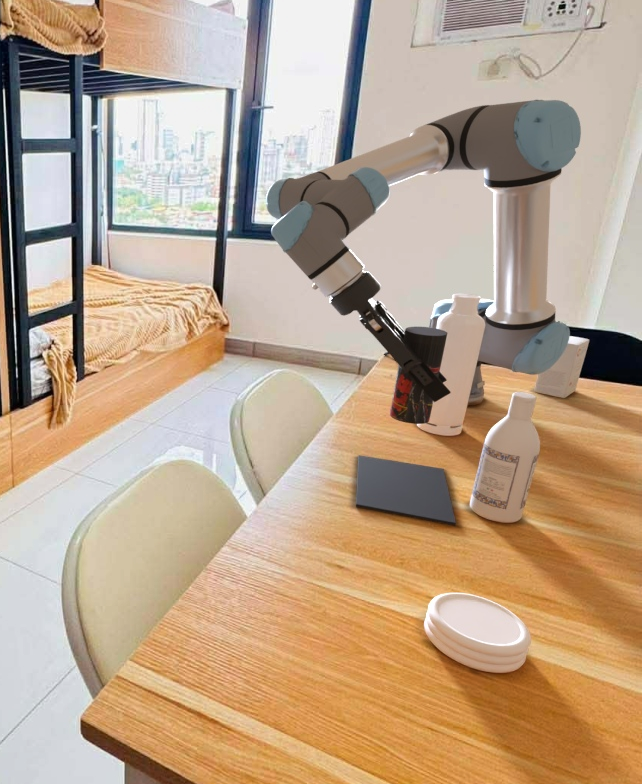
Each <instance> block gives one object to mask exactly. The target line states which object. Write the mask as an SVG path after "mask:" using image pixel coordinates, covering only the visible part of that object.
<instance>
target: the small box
mask: <svg viewBox="0 0 642 784" xmlns="http://www.w3.org/2000/svg"><path fill="white" fill-rule="evenodd" d="M589 343H590V339H588V338H584V337H579V336H572V335H570V337H569V341H568V344H567V346H566V349H565V351H564V352H563V354H562V355H561V357H560V358H559V359H558V361H557V362H556V363H555V364H554V365H553V366H552V367H551V368H549V369H548V370H546V371H545V372H543V373H540V374H537V378H536V381H535V386H534V389H533V392H534V393H539V394H543V395H547V396H550V397H551V396H552V397H556V398H561V399H565V398H567V397H568V396H570V395H571V394H573V393H574V392H576V390H577V387H578V384H579V379H580V375H581V372H582V368H583V365H584V362H585V358H586V354H587V350H588V347H589Z"/></svg>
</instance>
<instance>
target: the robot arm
mask: <svg viewBox="0 0 642 784" xmlns="http://www.w3.org/2000/svg"><path fill="white" fill-rule="evenodd" d="M581 135H582V128H581V121H580V118H579V115H578V113H577V111H576V110H575V109H574V108H573V107H572V106H570V104H569V103H568V102H566V101H564V100H559V99H557V100H556V99H548V100H547V99H546V100H544V99H533V100H524V101H516V102H507V103H498V104H483V105H477V106H474V107H470V108H466V109H462V110H460V111H457V112H454V113H451V114H449V115H446V116H444V117H441V118H439V119H436V120H433V121H430V122H429V123H426V124H423V125H421V126H418V127H417V128H415V129H414V130H413V131H412V132H411V133H410V134H409V135H408V136H407V137H404V138H402V139H398V140H396V141H394V142H391V143H389V144H386V145H383V146H381V147H378V148H376V149H372V150H370V151H368V152H364V153H362V154H359V155H357V156H355V157H352V158H349V159H347V160H344V161H341V162H339V163H336V164H333V165H330V166H328V167H326V168H323V169H320V170H317V171H315V172H312V173H308V174H306V175H304V176H301V177H297V178H294V177H288V178H282V179H278V180H276V181H275V182H274V183H273V184H271V186H270V187H269V189H268V191H267V192H266V193H267V194H266V197H265V204H266V209H267V212H268V213H269V215H270V216H271V217H273V218H275V219H278V220H277V221H276V222H275V223H274V224H273V225H272V227H271V230H270V233H271V234H270V235H271V236H272V237H273V239H274V240H275V242H276V243H277V244H278V245H279V247H280V248H281V249H282V251H283V253H286V255H287V256H288V257H289V258H290V259H291V260H292V261H293V262H294V263H295V265H296V266H297V267H298V268H299V269H300V270H301V272H303V273H304V275H305V276H306V277H307V278H308V279H309V280H310V281H311V282H312V283H313V284H312V285H311V288H312V290H314V291H316V290H317V289H319V292H320V293H321V294H322V295H323V296H324V297H325V298H328V297H330V298H329V303H330V305H332V307H333V308H334V309H335V310H336V311H337V312H338V314H339V315H341V316H348V315H350V314H352V313H353V312H355V311H356V312H357V314H358V315H359V322H360V323H361V324H362V326H363V327H364V328H365V330H367V331H369V333H370V334H371V335H372V336H373V337H374V338H375V339H376V340H377V342H379V344H380V345H381V346H382V347H383V348H384V350H386V352H384V353H383V354H382V355H383V356H388V355H390V357H392V359H393V360H394V361H395V362H396V363H397V364H398V366H399V365H400V367H401V369H402V370H403V371H401V373H402V374H403V375H404V374H405V373H407V372H408V373H409V374H410V375H411V376H412V378H413V379H414V380H415V381H416V382H417V383H418V384H419V385H420V387H421V388H422V389H423V390H424V391H425V392H426V393H427V395H428V396H429V397H430V398H431V399H432V400H433V401H434V402H436V401H438V400H440V399H441V398H443V397H445V396H446V395H448V394H450V393H451V392H450V391H449V389H448V388H447V387H446V386H445V385H444V384H443V382H445V381H447V380H446V378H445V377H444V376H443V375H442V374H441V373H440V372H439V376H438V377H437V376H436V375H435V374H434V373H433V371H432V370H431V369H430V368H429V367H428V366H427V365H426V363H425V362H424V361H421V359H420V358H418V357H417V355H416V354H415V353H414V352H413V351H412V349H411V348H410V347H409V346H408V344H407V343H406V342H405V341H404V334H405V329H404V328H403V327H402V326H401V325H400V323H398V321H397V320H396V319H395V317H394V316H393V315H392V314H391V313H390V312H389V311H388V309H387V307H386V305H385V304H384V303H383V302H382V301H379V300H376V301H375V300H374V297H375V296H376V295H377V294H378V293H379V292H380V290H381V289H382V284H381V283H380V282H379V281H378V280H377V279H376V277H375V276H373V274H372V273H371V272H370V271H367V270H365V271H364V269H365V264H364V263H363V262H362V261H361V260H360V259H359V258H358V257H357V256H356V254H355V253H354V252H353V251H352V250H351V249H350V248H349V247H348V246H347V245H346V244H345V242H344V241H343V240H345V239H346V238H347V237H348V236H349V235H350V234H351V233H353V232H354V231H356V229H358V228H359V227H360V226H361V225H362V224H364V223H365V222H367V220H369V219H370V218H371V217H372V216H375V214H376V212H378V210H379V209H380V208H382V206H384V205H385V204H386V203H387V201H388V200H389V198H390V194H391V190H390V189H391V188H390V186H393V185H395V184H396V185H397V184H398V183H401V182H403V181H405V180H408V179H411V178H413V177H416V176H418V175H421V176H432V175H434V174H437V173H440V172H445V171H446V172H447V171H460V170H461V171H483V180H484V182H483V184H484V187H486V188H487V189H489V190H490V191H491V192H493V265H494V266H493V271H494V272H493V299H494V300H493V299H489V298H481V300H480V302H479V304H478V306H477V311H478V315H479V316H481V317H482V318H483V319H484V321H485V329H484V334H483V338H482V343H481V347H480V351H479V356H478V360H477V365H476V369H475V373H474V378H473V382H472V387H471V391H470V395H469V400H468V404H467V407H468V406H475V405H478V404H479V405H480V404H481V403H482V402H483V400H484V396H485V388H484V386H485V385H486V383H485V380H483V375H482V368H481V367H482V363H485V364H489V365H492V366H496V367H499V368H504V369H506V370H510V371H512V372H513V373H521V374H525V375H530V376H537V375H538V374H540V373H543V372H545V371H546V370H548V369H549V368H551V367H552V366H553V365H554V364H555V363H556V362H557V361H558V359H559V358H560V357H561V355H562V354H563V352H564V351H565V349H566V346H567V344H568V341H569V337H570V336H571V331H570V327H569V325H567V324H566V323H565V322H563V321H560V320H558V321H556V306H555V305H554V303H552V302H551V301H549V300H548V299H547V291H548V266H549V265H548V263H549V239H550V237H549V234H550V207H551V184H552V183H553V182H554V181H556V180H557V179H558V178H559V177H560V176H561V175H562V172H563V171H562V170H563V168H565V167H566V166H568V164H570V163H571V161H572V160H573V159H574V157H575V155H576V154H577V152H576V149H577V148H579V145H580V142H581V138H582V137H581ZM452 304H453V298H449V299H442V300H439V301H437V302H436V303H435V304H434V306H433V310H432V313H431V316H430V318H429V320H430V321H429V325H428V327H430V328H436V327H437V322H438V319H439V317H440V316H441V315H443V314H445V313H447V312H449V311H450V308H451V306H452ZM407 361H408V362H407Z"/></svg>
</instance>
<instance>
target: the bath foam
mask: <svg viewBox="0 0 642 784" xmlns="http://www.w3.org/2000/svg"><path fill="white" fill-rule="evenodd" d="M536 401H537V396H536V395H534V394H532V393H530V392H525V391H516V392H513V393H512V395H511V399H510V404H509V406H508V411H507V414H506V416H504V417H503V418H502V419H501V420H499V421H498V422H497V423H496V424H494V425H493V426H492V427H491V428H490V430H489V431H488V432H487V434H486V436H485V439H484V441H483V446H482V450H481V454H480V459H479V463H478V467H477V471H476V475H475V478H474V483H473V487H472V492H471V495H470V501H469V508H470V510H471V511H473V512H474V513H475V514H476V515H478V516H480V517H481V518H484V519H487V520H490V521H492V522H496V523H505V524H511V523H516V522H518V521H520V520H521V519H522V516H523V513H524V510H525V506H526V503H527V500H528V496H529V493H530V488H531V486H532V481H533V477H534V474H535V471H536V468H537V463H538V460H539V456H540V450H541V439H540V436H539V433H538V430H537V429H536V426H535V424H534V423H533V421H532V417H533V414H534V410H535V406H536Z"/></svg>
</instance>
